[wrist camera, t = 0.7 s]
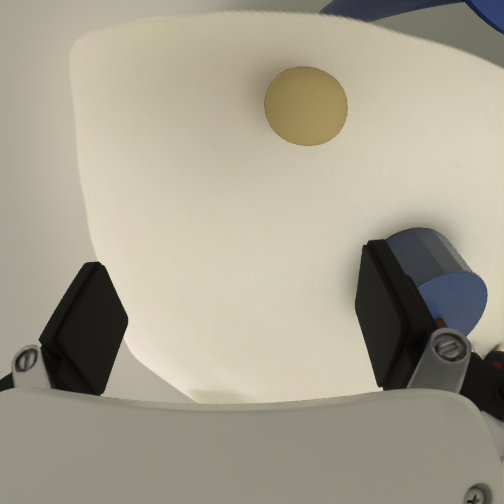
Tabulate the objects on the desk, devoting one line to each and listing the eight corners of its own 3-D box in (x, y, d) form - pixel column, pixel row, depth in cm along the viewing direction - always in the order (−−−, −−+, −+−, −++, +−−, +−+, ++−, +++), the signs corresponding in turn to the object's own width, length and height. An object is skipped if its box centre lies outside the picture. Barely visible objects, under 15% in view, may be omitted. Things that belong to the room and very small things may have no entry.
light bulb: (323, 130, 29) (350, 160, 21) (260, 125, 29) (262, 151, 21) (330, 70, 26) (363, 75, 17) (264, 63, 26) (268, 62, 17)
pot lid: (429, 247, 27) (449, 276, 23) (501, 285, 30) (518, 309, 26) (348, 349, 35) (356, 380, 31) (430, 363, 38) (440, 388, 34)
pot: (397, 211, 34) (432, 256, 26) (466, 248, 37) (499, 290, 29) (340, 298, 42) (355, 351, 34) (412, 318, 45) (432, 364, 37)
